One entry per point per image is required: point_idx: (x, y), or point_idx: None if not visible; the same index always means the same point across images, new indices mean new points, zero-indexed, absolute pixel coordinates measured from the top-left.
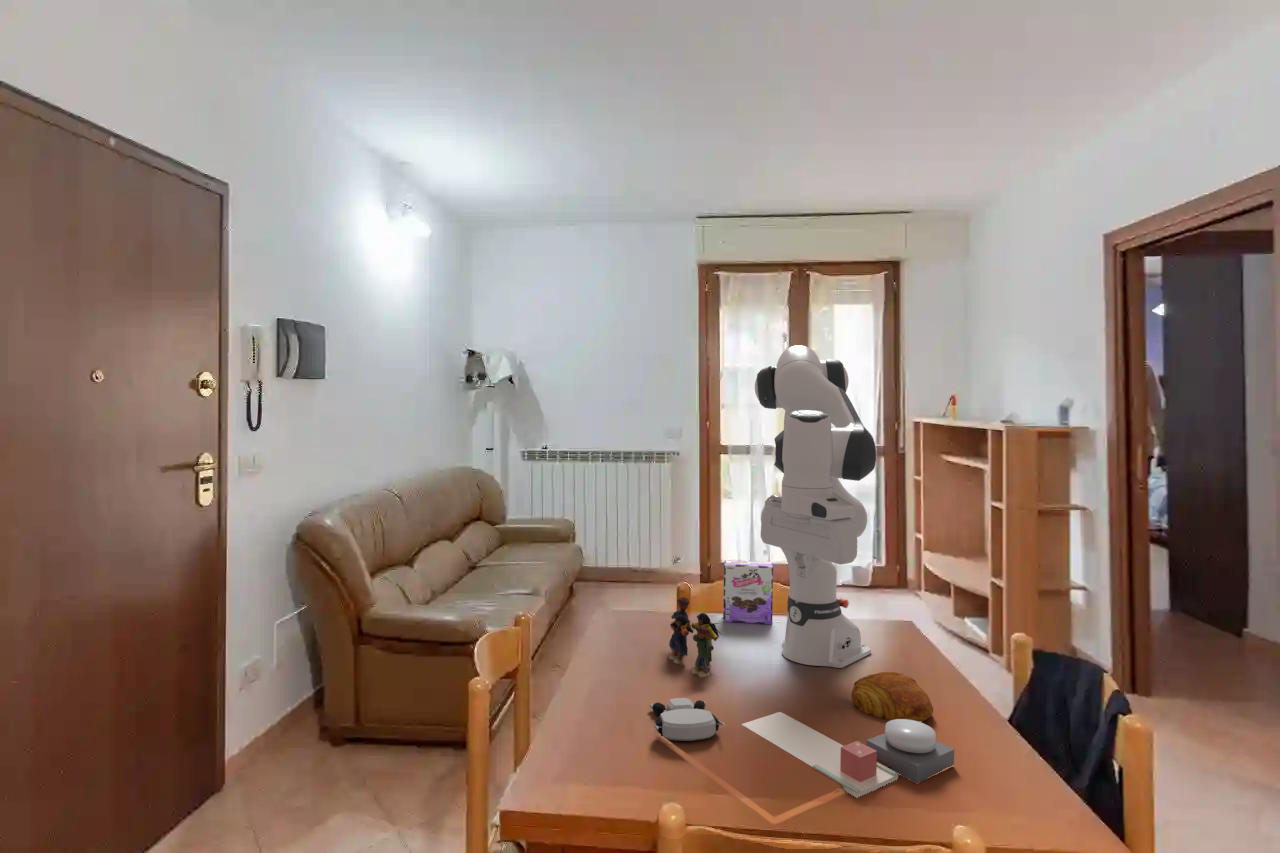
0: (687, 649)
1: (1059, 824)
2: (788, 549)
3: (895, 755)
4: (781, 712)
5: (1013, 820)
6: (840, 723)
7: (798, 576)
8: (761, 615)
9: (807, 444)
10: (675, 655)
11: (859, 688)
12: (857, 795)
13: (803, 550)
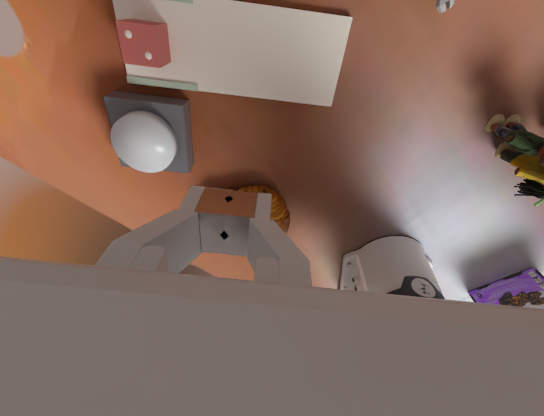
0: None
1: (9, 135)
2: (320, 289)
3: (137, 100)
4: (328, 105)
5: (23, 106)
6: (264, 148)
7: (256, 193)
8: (487, 295)
9: None
10: None
11: (272, 207)
12: None
13: (118, 292)
